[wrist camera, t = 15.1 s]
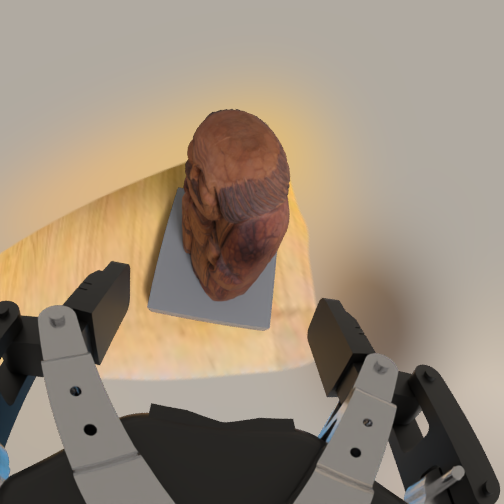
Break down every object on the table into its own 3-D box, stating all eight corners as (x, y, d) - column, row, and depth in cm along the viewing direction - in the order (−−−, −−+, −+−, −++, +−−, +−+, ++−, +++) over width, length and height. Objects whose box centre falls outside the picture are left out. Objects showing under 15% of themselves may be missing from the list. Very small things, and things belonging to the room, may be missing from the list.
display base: (150, 311, 29) (147, 307, 27) (178, 198, 35) (178, 187, 33) (263, 330, 31) (269, 328, 29) (275, 216, 37) (280, 207, 35)
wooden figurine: (171, 218, 31) (163, 87, 15) (222, 202, 33) (251, 76, 17) (208, 314, 28) (229, 245, 12) (263, 292, 30) (343, 207, 14)
